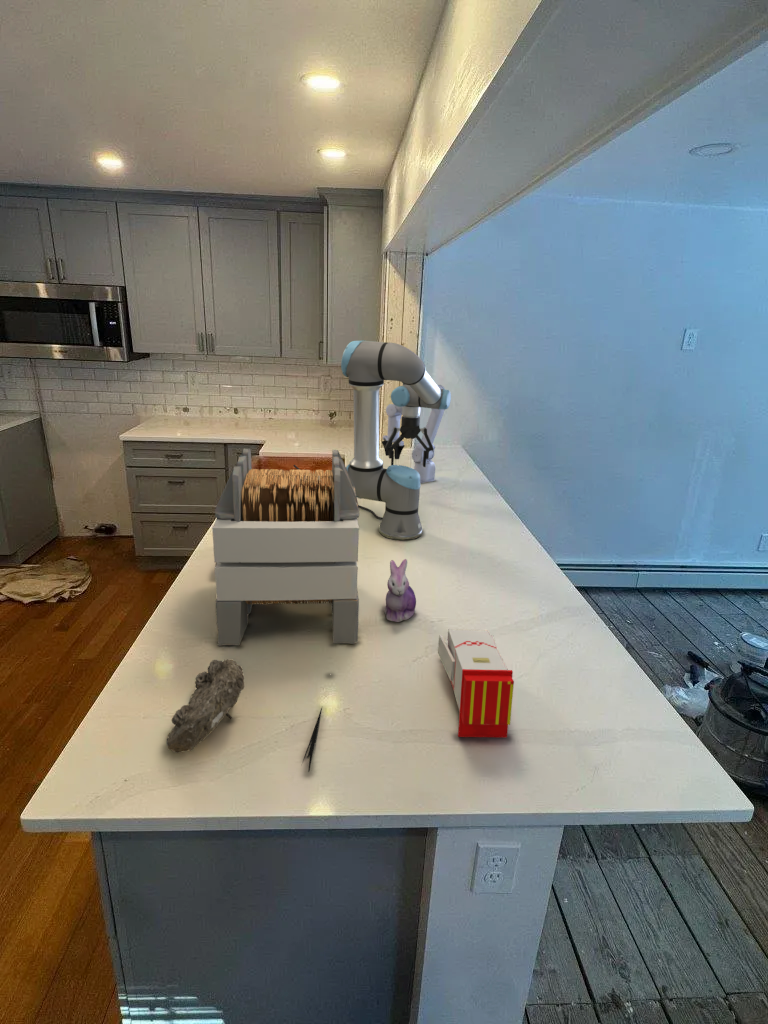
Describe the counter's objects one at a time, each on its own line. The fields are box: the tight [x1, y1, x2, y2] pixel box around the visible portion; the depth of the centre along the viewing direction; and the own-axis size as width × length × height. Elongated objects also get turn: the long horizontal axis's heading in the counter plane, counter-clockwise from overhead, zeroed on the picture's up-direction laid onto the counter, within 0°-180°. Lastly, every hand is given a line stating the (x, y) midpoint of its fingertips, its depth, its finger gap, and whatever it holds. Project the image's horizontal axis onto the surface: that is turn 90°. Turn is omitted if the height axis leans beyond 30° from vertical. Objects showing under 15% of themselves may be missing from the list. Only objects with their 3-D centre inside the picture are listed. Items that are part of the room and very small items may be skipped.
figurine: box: [384, 558, 417, 623], centre depth 145 cm, size 9×10×15 cm
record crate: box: [212, 448, 360, 647], centre depth 140 cm, size 34×33×41 cm
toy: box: [437, 628, 515, 738], centre depth 117 cm, size 12×13×30 cm
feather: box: [301, 673, 332, 771], centre depth 108 cm, size 2×28×2 cm
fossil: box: [166, 658, 245, 754], centre depth 106 cm, size 22×10×15 cm
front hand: (408, 466), depth 239 cm, fingers open, 13 cm apart
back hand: (392, 457), depth 274 cm, fingers open, 7 cm apart
